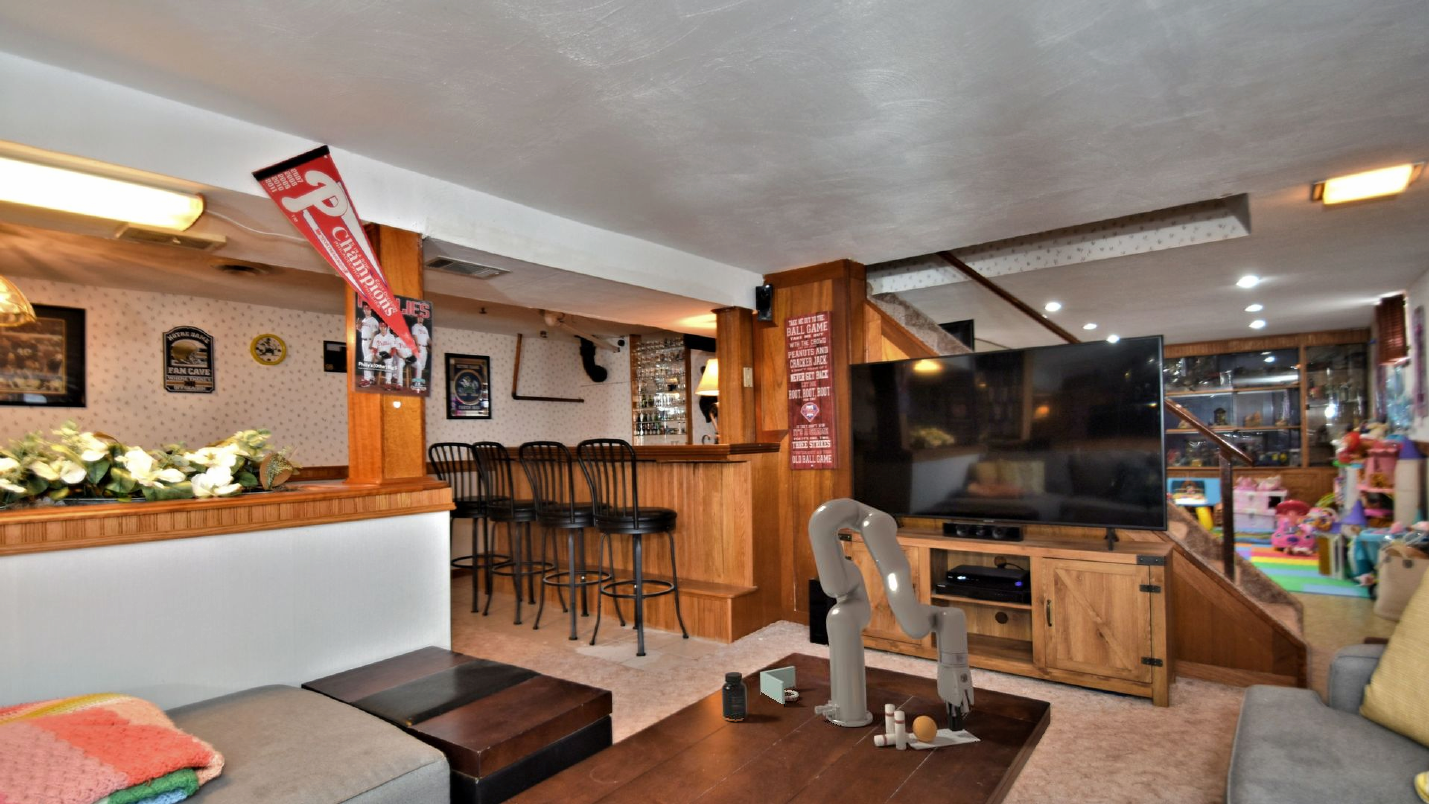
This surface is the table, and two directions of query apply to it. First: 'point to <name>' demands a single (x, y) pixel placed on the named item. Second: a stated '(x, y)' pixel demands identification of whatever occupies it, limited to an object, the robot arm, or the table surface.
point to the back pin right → (900, 730)
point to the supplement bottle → (734, 696)
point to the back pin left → (890, 718)
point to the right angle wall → (778, 683)
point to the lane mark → (943, 739)
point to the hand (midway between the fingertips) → (955, 729)
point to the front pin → (888, 739)
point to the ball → (924, 728)
